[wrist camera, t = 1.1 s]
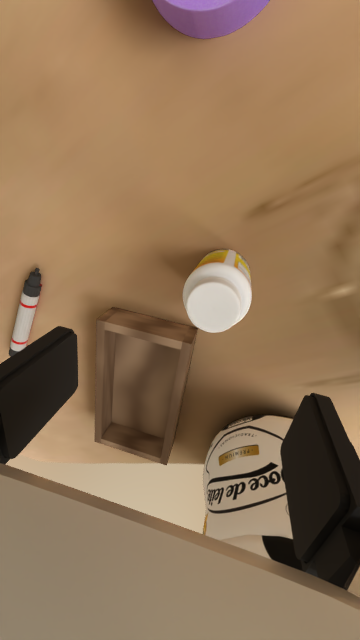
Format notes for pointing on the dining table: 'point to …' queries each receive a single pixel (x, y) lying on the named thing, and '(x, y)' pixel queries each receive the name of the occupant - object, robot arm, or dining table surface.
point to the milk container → (250, 489)
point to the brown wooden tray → (140, 381)
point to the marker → (26, 312)
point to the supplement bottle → (218, 291)
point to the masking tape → (208, 15)
